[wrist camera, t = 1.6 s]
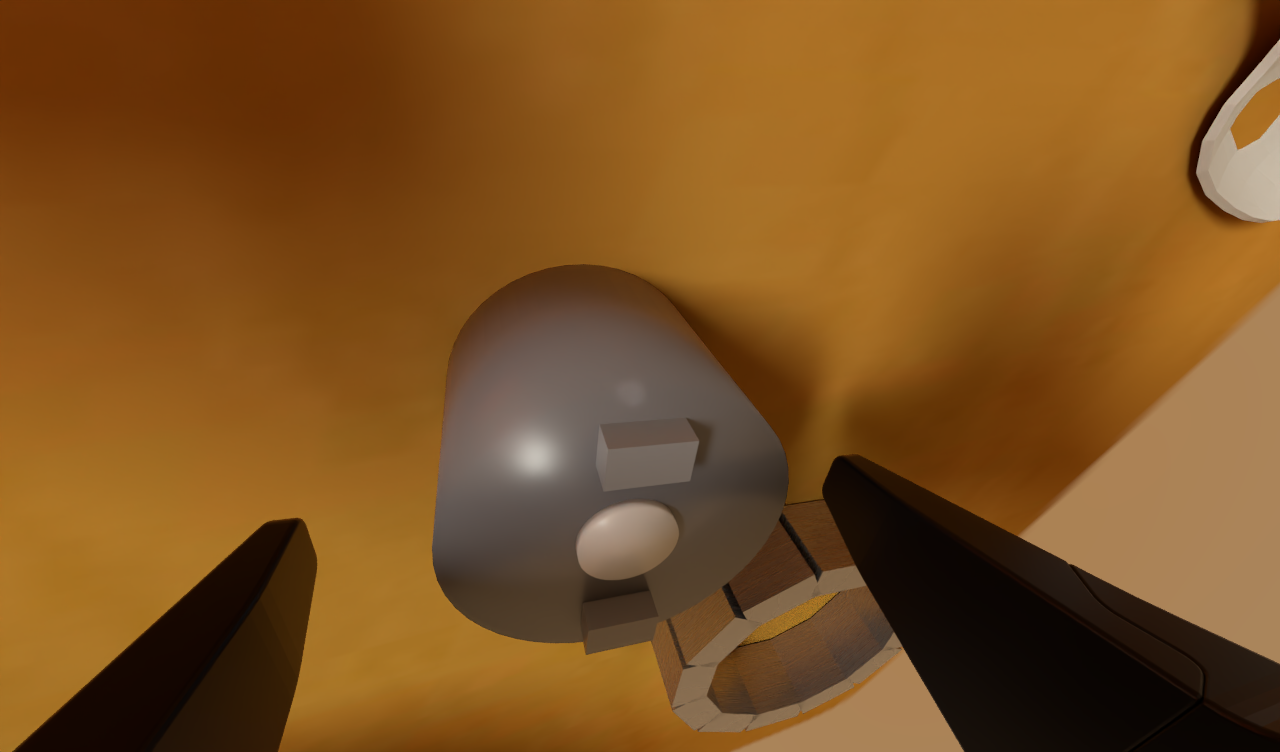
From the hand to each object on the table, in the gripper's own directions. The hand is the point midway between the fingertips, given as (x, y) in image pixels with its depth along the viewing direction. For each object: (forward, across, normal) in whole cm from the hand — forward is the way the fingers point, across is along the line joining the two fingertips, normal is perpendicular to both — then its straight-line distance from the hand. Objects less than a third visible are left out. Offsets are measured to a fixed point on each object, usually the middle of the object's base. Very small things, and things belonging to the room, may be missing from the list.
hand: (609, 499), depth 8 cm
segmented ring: (+4, -8, +10) cm, 13 cm away
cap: (+4, 0, 0) cm, 4 cm away
